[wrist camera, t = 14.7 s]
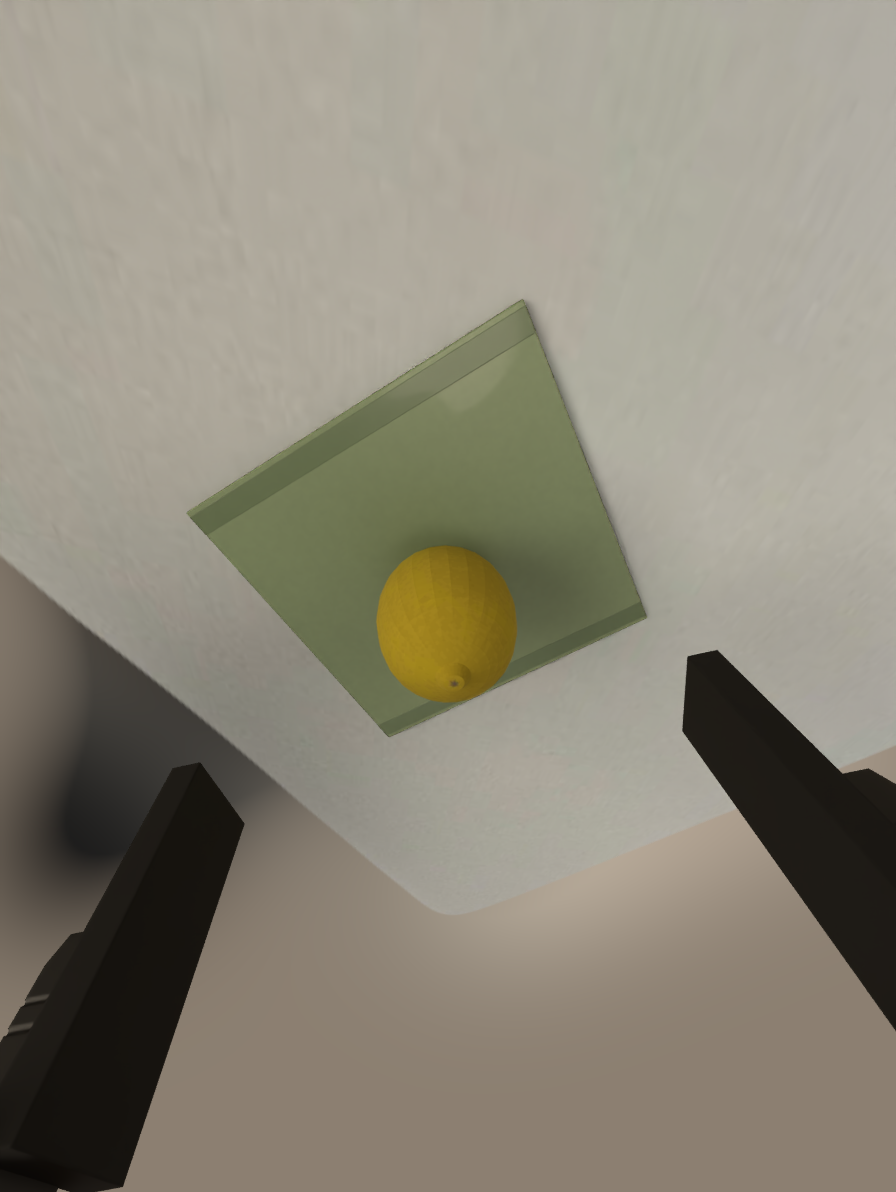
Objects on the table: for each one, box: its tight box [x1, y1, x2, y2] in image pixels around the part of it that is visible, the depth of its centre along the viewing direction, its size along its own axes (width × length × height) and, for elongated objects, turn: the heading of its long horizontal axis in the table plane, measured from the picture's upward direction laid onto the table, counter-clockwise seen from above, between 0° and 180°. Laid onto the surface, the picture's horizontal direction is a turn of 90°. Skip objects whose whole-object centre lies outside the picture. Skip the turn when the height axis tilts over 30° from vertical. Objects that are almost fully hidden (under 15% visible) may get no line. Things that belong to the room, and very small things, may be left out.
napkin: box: [187, 299, 647, 737], centre depth 22 cm, size 16×16×1 cm
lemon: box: [376, 545, 517, 703], centre depth 18 cm, size 6×6×8 cm
